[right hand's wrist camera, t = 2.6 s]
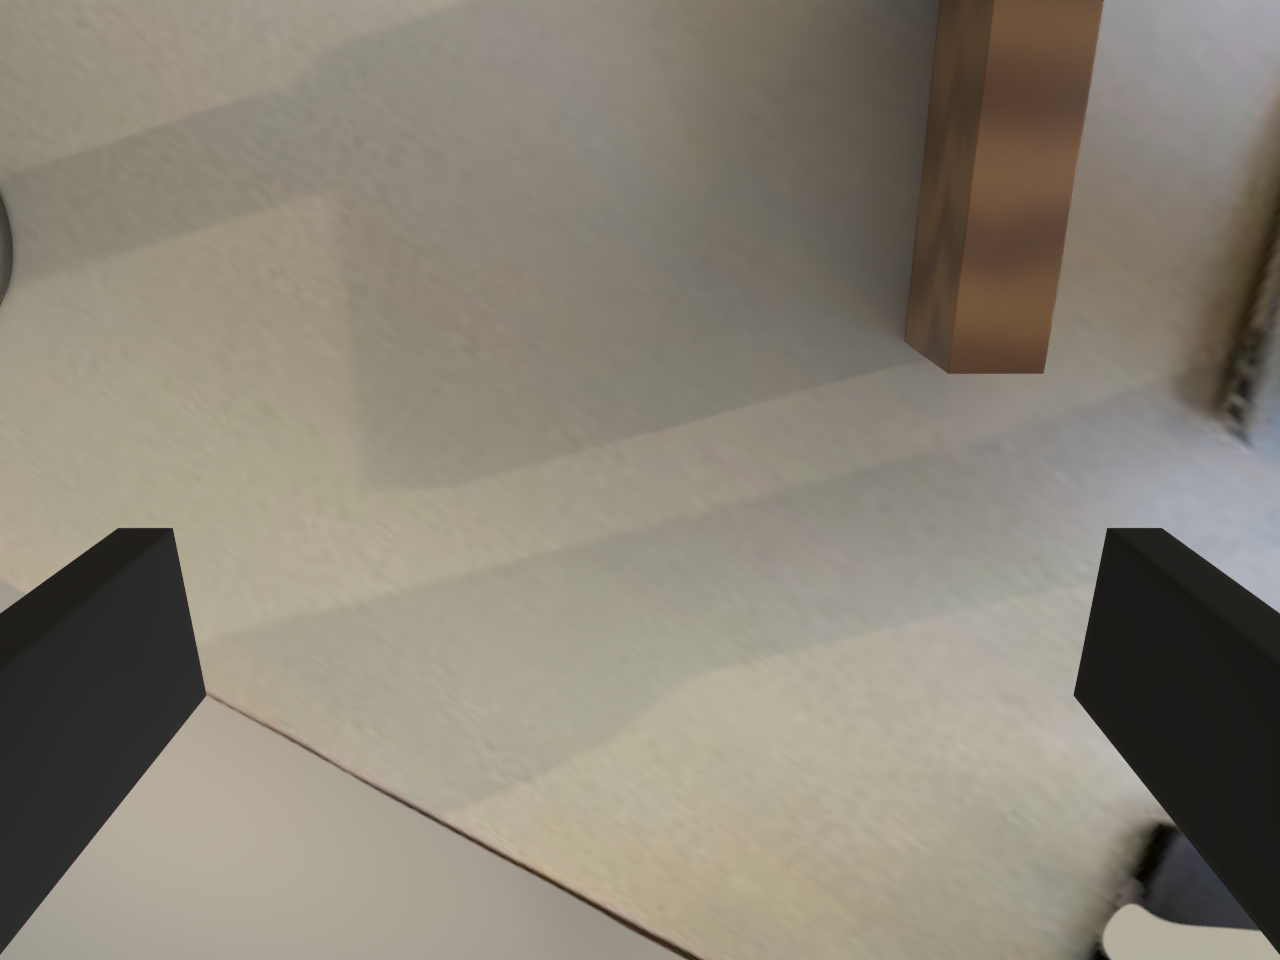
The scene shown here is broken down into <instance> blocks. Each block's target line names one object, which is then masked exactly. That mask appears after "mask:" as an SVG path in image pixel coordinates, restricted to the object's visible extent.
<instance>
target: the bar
mask: <svg viewBox="0 0 1280 960" xmlns="http://www.w3.org/2000/svg"><path fill="white" fill-rule="evenodd" d="M1103 5H1104V0H940V8H939V17H938V27H937V36H936V46H935V56H934V65H933V75H932V84H931V94H930V103H929V113H928V122H927V132H926V141H925V151H924V161H923V170H922V180H921V189H920V199H919V208H918V218H917V227H916V237H915V247H914V256H913V266H912V275H911V285H910V294H909V304H908V313H907V323H906V333H905V342H906V343H907V344H908V345H910V346H911V347H912V348H914V349H915V350H917V351H918V352H919V353H921V354H922V355H923V356H925V357H926V358H928V359H929V360H930V361H932V362H933V363H934V364H936V365H937V366H938V367H940V368H941V369H943V370H944V371H945V372H947V373H948V374H1043V373H1044V369H1045V363H1046V357H1047V351H1048V344H1049V338H1050V332H1051V326H1052V320H1053V314H1054V307H1055V301H1056V295H1057V289H1058V283H1059V277H1060V270H1061V264H1062V258H1063V252H1064V246H1065V240H1066V233H1067V227H1068V221H1069V215H1070V209H1071V203H1072V196H1073V190H1074V184H1075V178H1076V172H1077V166H1078V160H1079V153H1080V147H1081V141H1082V135H1083V129H1084V123H1085V116H1086V110H1087V104H1088V98H1089V92H1090V86H1091V79H1092V73H1093V67H1094V61H1095V55H1096V49H1097V42H1098V36H1099V30H1100V24H1101V18H1102V12H1103Z"/></svg>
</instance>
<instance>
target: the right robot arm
mask: <svg viewBox="0 0 1280 960" xmlns="http://www.w3.org/2000/svg"><path fill="white" fill-rule="evenodd" d="M11 267H12V239H11V231H10V226H9V221H8V217H7V214H6V210H5V207H4V204H3V201H2V199H1V196H0V304H1V302H2V300H3V298H4V296H5V293H6V290H7V287H8V284H9V279H10V275H11ZM205 696H206V691H205V686H204V681H203V676H202V671H201V666H200V661H199V656H198V651H197V646H196V641H195V636H194V631H193V626H192V622H191V617H190V612H189V607H188V602H187V597H186V592H185V587H184V582H183V577H182V572H181V567H180V562H179V557H178V552H177V547H176V542H175V537H174V532H173V528H118V529H116V530H115V531H114V532H112V533H111V534H109V535H108V536H107V537H105V538H104V539H103V540H101V541H100V542H98V543H97V544H96V545H94V546H93V547H91V548H90V549H89V550H87V551H86V552H85V553H83V554H82V555H80V556H79V557H78V558H76V559H75V560H74V561H72V562H71V563H69V564H68V565H67V566H65V567H64V568H63V569H61V570H60V571H58V572H57V573H56V574H54V575H53V576H51V577H50V578H49V579H47V580H46V581H45V582H43V583H42V584H40V585H39V586H38V587H36V588H35V589H34V590H32V591H31V592H29V593H28V594H27V595H25V596H24V597H22V598H21V599H20V600H18V601H17V602H16V603H14V604H13V605H11V606H10V607H9V608H7V609H6V610H5V611H3V612H2V613H0V954H1V953H2V952H3V950H4V949H5V948H6V947H7V945H8V944H9V943H10V942H11V940H12V939H13V938H14V937H15V935H16V934H17V933H18V932H19V930H20V929H21V928H22V927H23V925H24V924H25V923H26V922H27V920H28V919H29V918H30V916H31V915H32V914H33V913H34V911H35V910H36V909H37V908H38V906H39V905H40V904H41V903H42V901H43V900H44V899H45V898H46V896H47V895H48V894H49V893H50V891H51V890H52V889H53V887H54V886H55V885H56V884H57V883H58V881H59V880H60V879H61V877H62V876H63V875H64V874H65V872H66V871H67V870H68V869H69V867H70V866H71V865H72V864H73V862H74V861H75V860H76V859H77V857H78V856H79V855H80V854H81V852H82V851H83V850H84V849H85V847H86V846H87V845H88V844H89V842H90V841H91V840H92V839H93V837H94V836H95V835H96V833H97V832H98V831H99V830H100V828H101V827H102V826H103V825H104V823H105V822H106V821H107V820H108V818H109V817H110V816H111V815H112V813H113V812H114V811H115V810H116V808H117V807H118V806H119V805H120V803H121V802H122V801H123V800H124V798H125V797H126V796H127V795H128V793H129V792H130V791H131V790H132V788H133V787H134V786H135V784H136V783H137V782H138V781H139V779H140V778H141V777H142V776H143V774H144V773H145V772H146V771H147V769H148V768H149V767H150V766H151V764H152V763H153V762H154V761H155V759H156V758H157V757H158V756H159V754H160V753H161V752H162V751H163V749H164V748H165V747H166V746H167V744H168V743H169V742H170V740H171V739H172V738H173V737H174V735H175V734H176V733H177V732H178V730H179V729H180V728H181V727H182V725H183V724H184V723H185V722H186V720H187V719H188V718H189V717H190V715H191V714H192V713H193V712H194V710H195V709H196V708H197V707H198V705H199V704H200V703H201V702H202V700H203V699H204V698H205ZM1074 696H1075V698H1076V699H1077V700H1078V702H1079V703H1080V704H1081V705H1082V707H1083V708H1084V709H1085V710H1086V712H1087V713H1088V714H1089V715H1090V717H1091V718H1092V719H1093V720H1094V722H1095V723H1096V724H1097V725H1098V727H1099V728H1100V729H1101V730H1102V732H1103V733H1104V734H1105V735H1106V737H1107V738H1108V739H1109V740H1110V742H1111V743H1112V744H1113V746H1114V747H1115V748H1116V749H1117V751H1118V752H1119V753H1120V754H1121V756H1122V757H1123V758H1124V759H1125V761H1126V762H1127V763H1128V764H1129V766H1130V767H1131V768H1132V769H1133V771H1134V772H1135V773H1136V774H1137V776H1138V777H1139V778H1140V779H1141V781H1142V782H1143V783H1144V784H1145V786H1146V787H1147V788H1148V790H1149V791H1150V792H1151V793H1152V795H1153V796H1154V797H1155V798H1156V800H1157V801H1158V802H1159V803H1160V805H1161V806H1162V807H1163V808H1164V810H1165V811H1166V812H1167V813H1168V815H1169V816H1170V817H1171V818H1172V820H1173V821H1174V822H1175V823H1176V825H1177V826H1178V827H1179V829H1180V830H1181V831H1182V832H1183V834H1184V835H1185V836H1186V837H1187V839H1188V840H1189V841H1190V842H1191V844H1192V845H1193V846H1194V847H1195V849H1196V850H1197V851H1198V852H1199V854H1200V855H1201V856H1202V857H1203V859H1204V860H1205V861H1206V862H1207V864H1208V865H1209V866H1210V867H1211V869H1212V870H1213V871H1214V873H1215V874H1216V875H1217V876H1218V878H1219V879H1220V880H1221V881H1222V883H1223V884H1224V885H1225V886H1226V888H1227V889H1228V890H1229V891H1230V893H1231V894H1232V895H1233V896H1234V898H1235V899H1236V900H1237V901H1238V903H1239V904H1240V905H1241V906H1242V908H1243V909H1244V910H1245V911H1246V913H1247V914H1248V915H1249V917H1250V918H1251V919H1252V920H1253V922H1254V923H1255V924H1256V925H1257V927H1258V928H1259V929H1260V930H1261V932H1262V933H1263V934H1264V935H1265V937H1266V938H1267V939H1268V940H1269V942H1270V943H1271V944H1272V945H1273V947H1274V948H1275V949H1276V950H1277V952H1278V953H1279V954H1280V613H1278V612H1277V611H1275V610H1274V609H1273V608H1271V607H1270V606H1269V605H1267V604H1266V603H1264V602H1263V601H1262V600H1260V599H1259V598H1258V597H1256V596H1255V595H1253V594H1252V593H1251V592H1249V591H1248V590H1246V589H1245V588H1244V587H1242V586H1241V585H1240V584H1238V583H1237V582H1235V581H1234V580H1233V579H1231V578H1230V577H1229V576H1227V575H1226V574H1224V573H1223V572H1222V571H1220V570H1219V569H1217V568H1216V567H1215V566H1213V565H1212V564H1211V563H1209V562H1208V561H1206V560H1205V559H1204V558H1202V557H1201V556H1200V555H1198V554H1197V553H1195V552H1194V551H1193V550H1191V549H1190V548H1188V547H1187V546H1186V545H1184V544H1183V543H1182V542H1180V541H1179V540H1177V539H1176V538H1175V537H1173V536H1172V535H1171V534H1169V533H1168V532H1166V531H1165V530H1164V529H1162V528H1107V532H1106V537H1105V542H1104V547H1103V552H1102V557H1101V562H1100V567H1099V572H1098V577H1097V582H1096V587H1095V592H1094V597H1093V602H1092V607H1091V612H1090V617H1089V622H1088V626H1087V631H1086V636H1085V641H1084V646H1083V651H1082V656H1081V661H1080V666H1079V671H1078V676H1077V681H1076V686H1075V691H1074Z"/></svg>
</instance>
